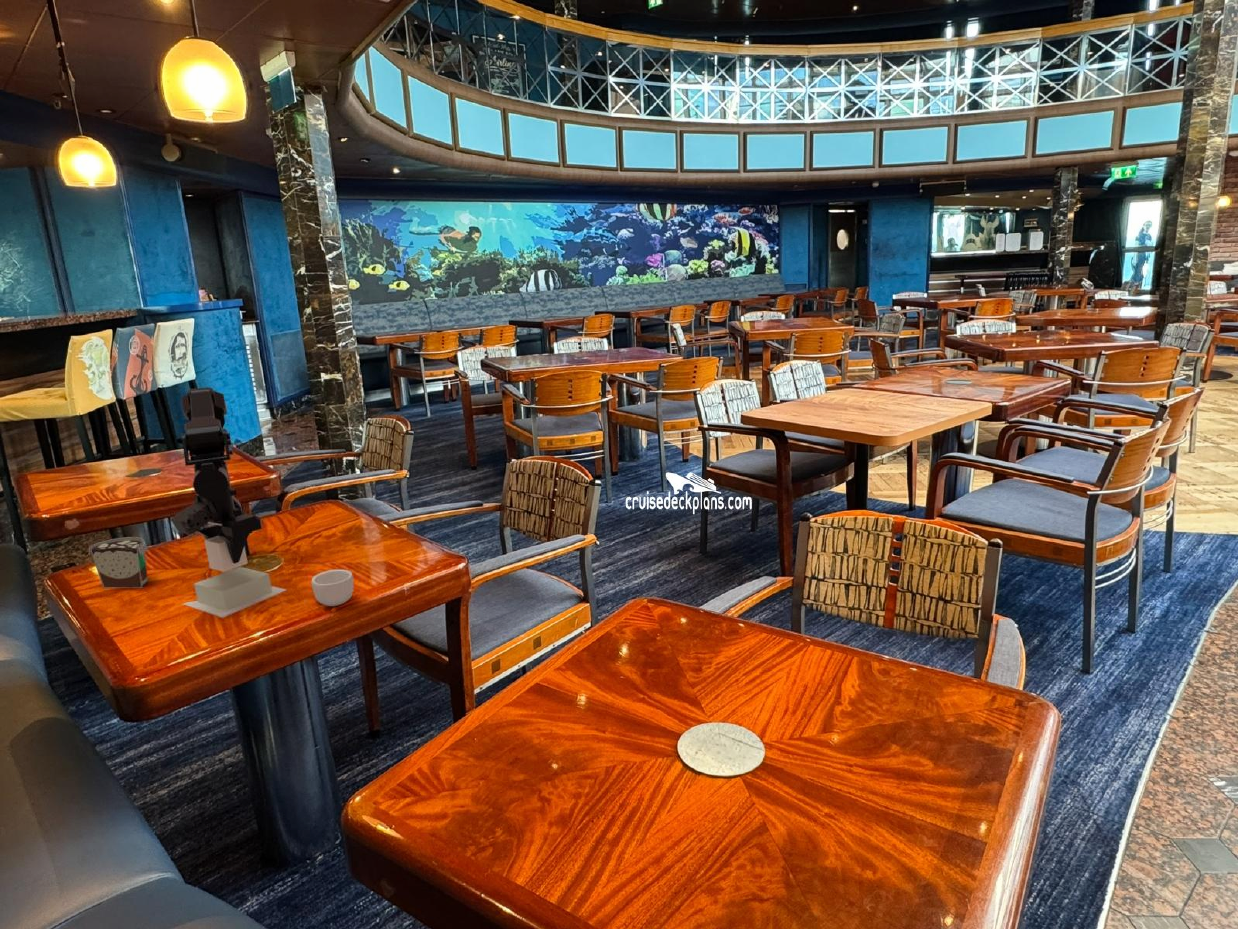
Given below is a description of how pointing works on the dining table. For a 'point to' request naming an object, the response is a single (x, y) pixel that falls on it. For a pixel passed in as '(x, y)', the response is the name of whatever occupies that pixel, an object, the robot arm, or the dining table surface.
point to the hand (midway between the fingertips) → (228, 560)
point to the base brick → (233, 588)
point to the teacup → (333, 587)
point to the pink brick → (222, 555)
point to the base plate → (225, 613)
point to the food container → (121, 562)
